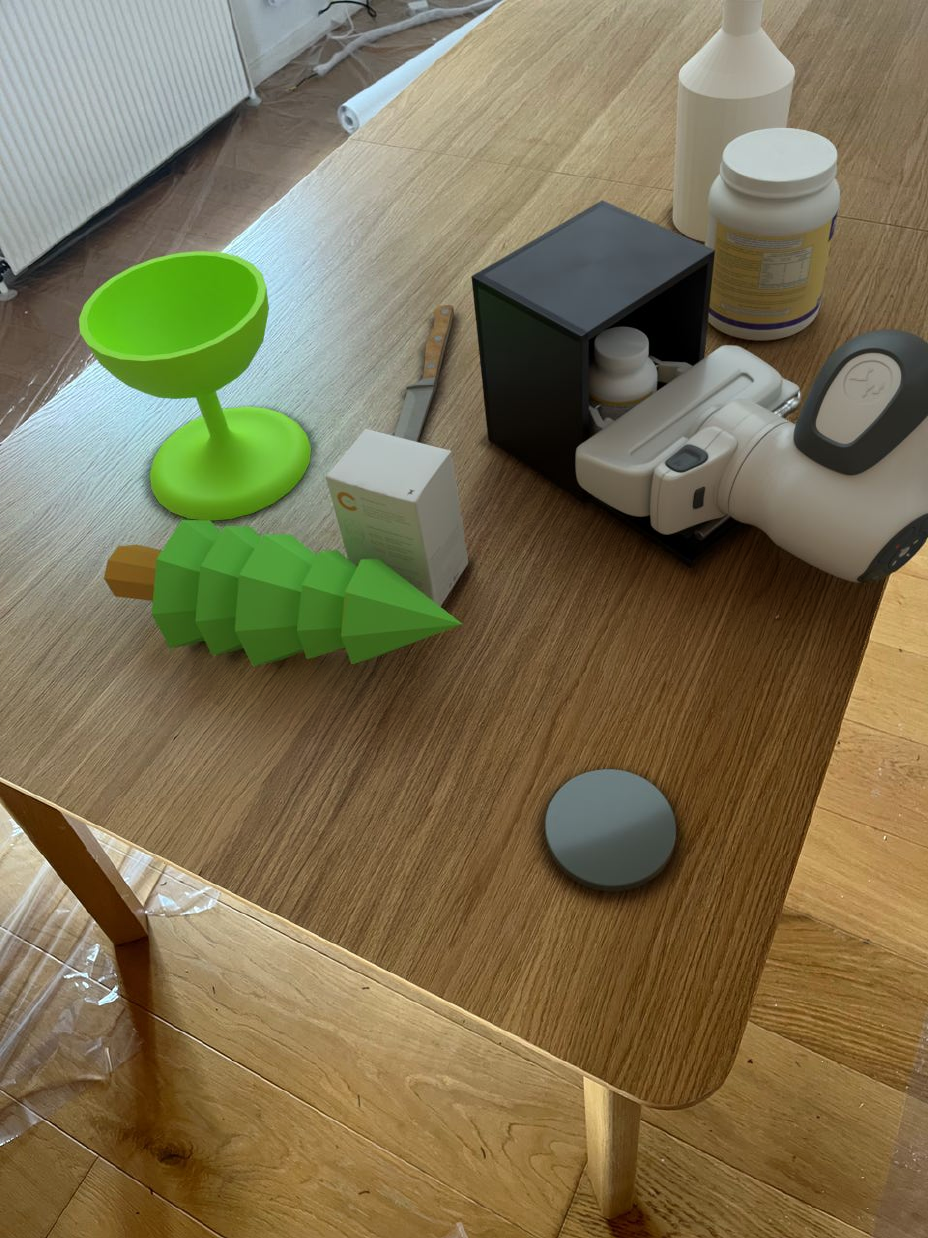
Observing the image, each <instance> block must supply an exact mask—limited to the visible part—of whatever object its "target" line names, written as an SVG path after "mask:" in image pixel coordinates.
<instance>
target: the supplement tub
mask: <svg viewBox="0 0 928 1238" xmlns="http://www.w3.org/2000/svg"><path fill="white" fill-rule="evenodd" d="M837 161H838V150H837V147H836V146H835V145H834V144H833V142H831V140H829V139H828V138H826V137H824V136H822V135H821V134H818V133H816V132H812V131H809V130H806V129H800V128H793V127H792V128H791V127H786V128H771V129H762V130H757V131H753V132H750V133H747V134H744V135H742V136H739V137H737V138H736V139H734V140H733V141H731V142H730V143H729V144H728V145H727V146H726V148H725V149H724V152H723V157H722V163H721V166H720V174H719V175H718V177H717V178H716V179H715V181H714V182H713V184H712V186H711V189H710V193H709V197H708V212H707V224H706V236H705V242H704V245H705V246H707V247H709V248H711V249H714V250H715V257H714V267H713V277H712V287H711V297H710V307H709V317H708V324H710V325H711V326H712V327H713V328H715V329H716V330H718V331H720V332H722V333H723V334H725V335H728V336H731V337H734V338H738V339H742V340H743V339H744V340H747V341H748V340H749V341H773V340H774V341H775V340H780V339H784V338H788V337H790V336H793V335H796V334H797V333H799V332H801V331H803V330H804V329H805V328H807V327H809V325H811V323H812V322H813V321H814V320H815V318H817V316H818V314H819V310H820V308H821V304H822V297H823V292H824V287H825V282H826V276H827V270H828V265H829V260H830V254H831V249H832V244H833V239H834V233H835V229H836V228H835V227H836V222H837V217H838V213H839V207H840V205H841V204H840V203H841V190H840V189H841V188H840V185H839V183H838V180H837V179H836V175H837V170H838V168H837V163H838V162H837Z"/></svg>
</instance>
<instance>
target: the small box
mask: <svg viewBox="0 0 928 1238" xmlns="http://www.w3.org/2000/svg"><path fill="white" fill-rule="evenodd" d="M452 451H453V450H451V449H446V448H442V447H438V446H436V445H435V446H434V445H431V444H427V443H423V442H419V441H418V442H415V441H412V440H408V439H404V438H400V437H396V436H394V435H392V434H388V433H385V432H381V431H377V430H373V429H370V428H365V429H363V430H362V432H361V433H360V434H359V435H358V437H357V438H356V439H355V440H354V442H353V443H352V444H351V446H350V447H349V448H348V449H346V452H344V454H343V455H342V456H341V458H340V459H339V460H338V461H337V463H336V464H335V465H333V467H332V468H331V469H330V470H329V472H328V473H327V474H326V475H325V479H326V483H327V486H328V489H329V493H330V497H331V501H332V504H333V509H334V512H335V517H336V520H337V523H338V527H339V530H340V534H341V537H342V541H343V547H344V548H345V549H344V550H345V553H346V556H347V557H346V558H347V559H348V560H350V561H351V562H352V563H353V564H355V565H356V566H358V564H359V562H360V560H361V559H380V560H381V561H382V562H383V563H385V564H386V565H387V566H389V567H390V568H391V569H392V570H394V571H395V572H396V573H398V574H399V575H400V576H401V577H403V578H404V579H405V580H407V581H408V582H409V583H410V584H412V585H413V586H414V587H416V588H417V589H418V590H419V591H421V592H422V593H423V594H425V595H426V596H427V597H428V598H430V599H431V600H432V601H434V602H435V603H436V604H437V605H439V606H440V607H441V608H442V605H443V604H444V602H445V600H446V599H447V598H448V595H449V594H450V593H451V591H452V590H453V588H454V587H455V585H456V583H457V582H458V581H459V579H460V577H461V576H462V574H463V572H464V571H465V569H466V568H467V566H468V565H469V558H468V549H467V544H466V543H467V542H466V537H465V530H464V523H463V522H464V521H463V517H462V511H461V505H460V504H461V503H460V498H459V492H458V484H457V477H456V471H455V464H454V459H453V458H454V457H453V452H452Z"/></svg>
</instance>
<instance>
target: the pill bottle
mask: <svg viewBox="0 0 928 1238" xmlns="http://www.w3.org/2000/svg"><path fill="white" fill-rule="evenodd" d="M648 354H649V342H648V338H647V337H646V335H645V334H644V333H642V332H641V331H639V330H637V329H635V328H631V327H614V328H610V329H607V330H605V331H603V332H601V333H600V334H599V335H598V336H597V337H596V338H595V341H594V358H593V359H592V360H591V361H590V362H589V397H592V398H593V399H594V400H597V401H599V402H601V403H602V411H601V413H602V420H603V421H604V419H606V418H610V419H612V420H614V421H615V420H616V419H618V418H619V417H621V416H622V415H624V414H625V413H627V412H628V411H629V410H631V409H632V408H634V407H635V406H637V405H638V404H639V403H641V402H642V401H644V400H645V399H647V398H648V397H649V396H651V395H652V394H654V393H655V392H657V378H658V377H657V369H656V366H655V364H654V363H653V361H652V360H651V359H650V358H649V357H648ZM592 436H593V434H592V432H591V429H590V426H589V438H591V437H592Z"/></svg>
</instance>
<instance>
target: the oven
mask: <svg viewBox="0 0 928 1238" xmlns="http://www.w3.org/2000/svg"><path fill="white" fill-rule="evenodd" d="M714 257H715V250H714V249H711V248H709V247H707V246H705V244H702V243H700V242H698V241H696V240H694V239H692V238H690V237H687V236H684V235H682V234H681V233H680V234H679V233H677V232H675V231H673V230H670V229H668V228H666V227H664V226H661V225H659V224H657V223H656V222H653V221H650V220H648V219H646V218H644V217H641V216H639V215H637V214H635V213H632V212H630V211H627V210H626V209H623V208H621V207H618V206H616V205H614V204H611V203H609V202H608V201H605V200H603V199H602V200H600V201H598V202H596V203H595V204H593V205H592V206H589V207H588V208H586V209H584V210H583V211H581V212H579V213H577V214H576V215H574V216H573V217H572V216H571V218H569V219H567V220H565V221H564V222H562V223H560V224H559V225H557V226H555V227H553V228H552V229H550V230H548V231H547V232H545V233H543V234H541V235H539V236H538V237H536V238H535V239H532V240H531V241H529V242H527V243H525V244H524V245H523V246H520V247H519V248H518V249H517V248H516V249H515V250H513V251H512V252H510V253H509V254H507V255H505V256H504V257H502V258H500V259H498V260H497V261H495V262H493V263H491V264H490V265H488V266H487V267H485V268H483V269H481V270H480V271H478V272H476V273H474V274H472V275H471V286H472V297H473V306H474V307H473V308H474V316H475V325H476V335H477V344H478V354H479V363H480V364H479V365H480V373H481V374H480V375H481V383H482V393H483V405H484V412H485V422H486V431H487V432H486V433H487V440H488V441H489V442H491V443H492V444H494V445H495V446H497V448H499V449H501V450H502V451H504V452H505V453H507V454H508V455H510V456H511V457H513V458H514V459H516V460H517V461H519V462H520V463H521V464H523V465H525V466H527V468H530V469H531V470H532V471H534V472H536V473H537V474H538V475H539V476H541V477H543V479H546V480H547V481H549V482H550V483H553V485H554V486H556V487H558V488H559V489H561V490H562V491H564V492H565V493H567V494H568V495H570V496H571V497H573V498H574V499H576V500H577V501H579V502H580V503H582V504H585V503H586V502H587V501H589V500H591V504H593V505H595V506H596V507H598V508H599V509H601V510H602V511H604V512H605V513H607V514H608V515H610V516H611V517H613V518H614V519H616V520H617V521H619V522H620V523H622V524H623V525H625V526H626V527H628V528H629V529H631V530H633V531H634V532H635V533H637V534H639V535H640V536H642V537H643V538H645V539H646V540H648V541H649V542H651V543H652V544H654V545H655V546H656V547H659V549H660V550H663V551H664V552H666V553H667V554H669V555H671V557H673V558H675V559H676V560H678V561H679V562H680V563H682V564H684V565H685V566H687V567H689V568H690V569H692V568H693V567H694V566H696V565H697V564H699V562H700V561H702V560H703V559H704V558H706V557H707V556H708V555H709V554H711V553H712V552H713V551H714V550H715V549H717V548H718V547H720V545H722V544H723V543H724V542H726V541H727V540H728V539H729V538H731V537H732V536H733V535H734V534H736V532H738V531H739V530H740V529H742V528H743V527H744V526H745V525H747V524H746V523H742V522H739V521H737V520H735V519H733V518H732V517H730V516H729V515H725V516H723V517H721V518H717V519H713V520H709V521H705V522H702V523H699V524H696V525H694V526H691V527H688V528H686V529H683V530H681V531H678V532H676V533H673V534H668V535H666V534H662V533H660V532H658V531H657V530H655V529H654V528H653V527H652V526H651V519H650V515H649V516H643V517H638V516H632V515H629V514H626V513H623V512H621V511H619V510H617V509H615V508H614V507H612V506H610V505H608V504H606V503H605V502H603V501H601V500H600V499H598V498H596V497H595V496H593V495H592V494H591V499H590V493H589V492H587V491H586V490H584V489H583V488H582V487H581V486H580V485H579V483H578V481H577V477H576V468H575V460H576V449H577V447H578V446H579V445H581V444H582V443H583V442H585V441H586V440H588V439H589V362H590V361H591V360H592V359H593V358H594V341H595V338H596V337H597V336H598V335H599V334H600V333H601V332H603V331H605V330H607V329H610V328H614V327H631V328H635V329H637V330H639V331H641V332H642V333H644V334H645V335H646V337H647V338H648V342H649V354H648V356H653V357H655V358H657V359H658V360H660V361H662V362H664V361H668V362H686V363H688V364H690V365H692V366H694V365H695V364H697V363H698V362H699V361H701V360H702V359H704V358H705V357H706V355H705V354H706V346H707V345H706V344H707V337H708V325H709V322H708V317H709V307H710V297H711V287H712V277H713V267H714ZM667 384H668V383H663V382H658V381H657V391H658V390H659V389H661V388H662V387H664V386H665V385H667Z"/></svg>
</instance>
